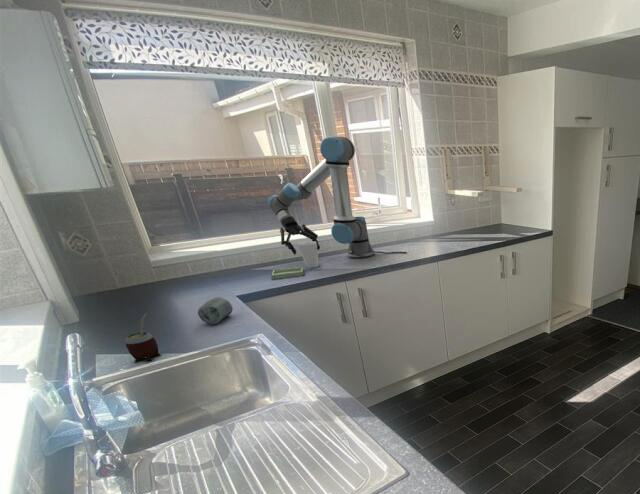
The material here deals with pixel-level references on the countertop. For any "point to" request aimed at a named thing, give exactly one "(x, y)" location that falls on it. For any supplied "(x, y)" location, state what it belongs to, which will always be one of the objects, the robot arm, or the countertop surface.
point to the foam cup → (309, 253)
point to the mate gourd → (142, 344)
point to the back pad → (287, 273)
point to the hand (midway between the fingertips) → (307, 250)
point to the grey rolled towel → (215, 310)
